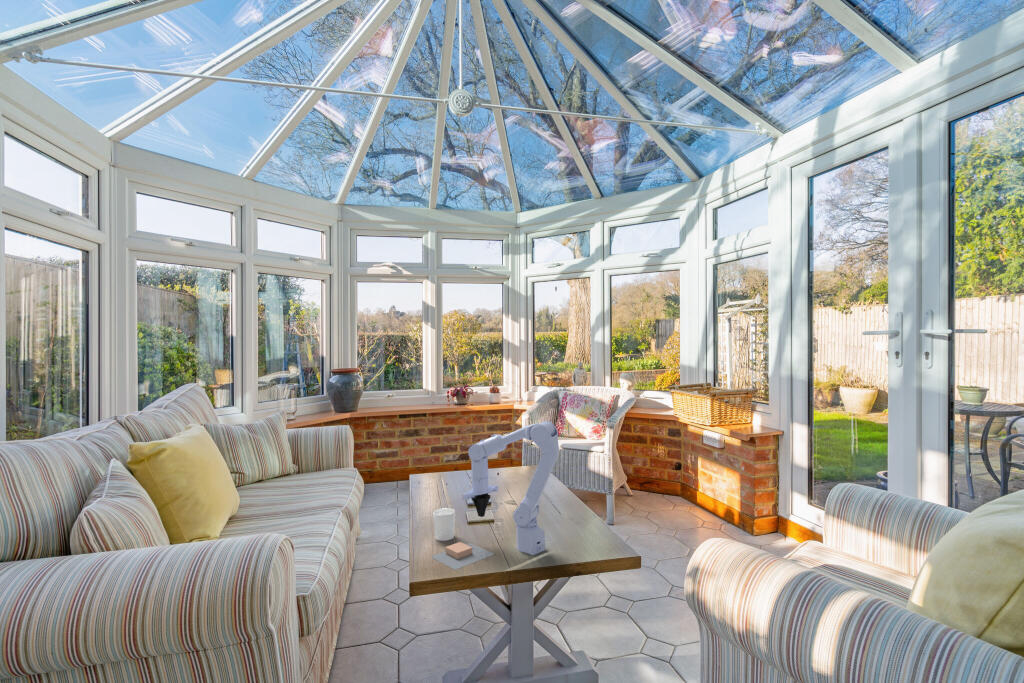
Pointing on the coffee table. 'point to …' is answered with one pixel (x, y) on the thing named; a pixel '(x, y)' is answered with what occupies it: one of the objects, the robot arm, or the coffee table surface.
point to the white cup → (444, 523)
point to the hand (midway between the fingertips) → (481, 516)
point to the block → (458, 550)
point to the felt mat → (458, 563)
